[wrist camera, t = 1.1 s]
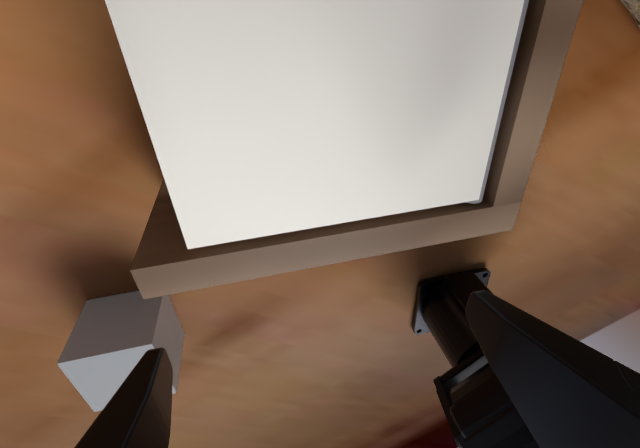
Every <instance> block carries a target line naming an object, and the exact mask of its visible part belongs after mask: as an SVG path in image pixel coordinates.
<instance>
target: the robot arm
mask: <svg viewBox="0 0 640 448" xmlns="http://www.w3.org/2000/svg"><path fill="white" fill-rule="evenodd" d="M489 277H490V271H489V270H488V269H487V268H481V269H476V270H471V271H466V272H461V273H456V274H451V275H447V276H442V277H437V278H432V279H427V280H423V281H421V282H420V283H419V285H418V292H417V300H416V307H415V314H414V321H413V328H412V329H413V332H414V333H415V334H416V335H419V334H424V333H428V332H431V333H432V335H433V336H434V338H435V340H436V341H437V343H438V345H439V346H440V348H441V349H442V351H443V353H444V354H445V356H446V358H447V359H448V361H449V362H450V364H451V366H452V367H453V368H451V369H450V370H449V371H447V372H446V373H444V374H443V375H442V376H438V377H437V378H435V379H434V380H433V381H434V384H435V386H436V389H437V390H436V391H437V394H438V397H439V399H440V402H441V405H442V407H443V410H444V413H445V415H446V418H447V421H448V423H449V426H450V428H451V431H452V434H453V436H454V438H455V442H456V444H457V446H458V447H459V448H640V373H638V372H635V371H633V370H632V369H630V368H628V367H626V366H624V365H623V364H621V363H619V362H617V361H613V359H611V358H610V357H608V356H606V355H604V354H602V353H600V352H598V351H597V350H595V349H593V348H591V347H589V346H587V345H585V344H584V343H582V342H580V341H578V340H576V339H574V338H573V337H571V336H569V335H567V334H565V333H563V332H561V331H560V330H558V329H556V328H554V327H552V326H550V325H549V324H547V323H545V322H543V321H541V320H539V319H537V318H536V317H534V316H532V315H530V314H528V313H526V312H525V311H523V310H521V309H519V308H517V307H515V306H513V305H512V304H510V303H508V302H506V301H504V300H502V299H500V298H499V297H497V296H495V295H494V294H493V293H492V292H491V291H490V290H489V289H488V288H487V284H488V281H489ZM172 385H173V368H172V365H171V362H170V359H169V357H168V354H167V352H166V350H165V348H163V347H161V348H155V349H150V350H148V351H146V352H145V354H144V355H143V356H142V358H141V359H140V360H139V362H138V363H137V364H136V366H135V367H134V368H133V370H132V371H131V372H130V374H129V375H128V376H127V378H126V379H125V380H124V382H123V383H122V385H121V386H120V387H119V389H118V390H117V391H116V393H115V394H114V395H113V397H112V398H111V399H110V401H109V402H108V403H107V405H106V406H105V407H104V409H103V410H102V411H101V413H100V414H99V415H98V417H97V418H96V419H95V421H94V422H93V424H92V425H91V426H90V428H89V429H88V430H87V432H86V433H85V434H84V436H83V437H82V438H81V440H80V441H79V442H78V444H77V445H76V446H75V448H168V445H169V438H170V427H171V407H172Z"/></svg>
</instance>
